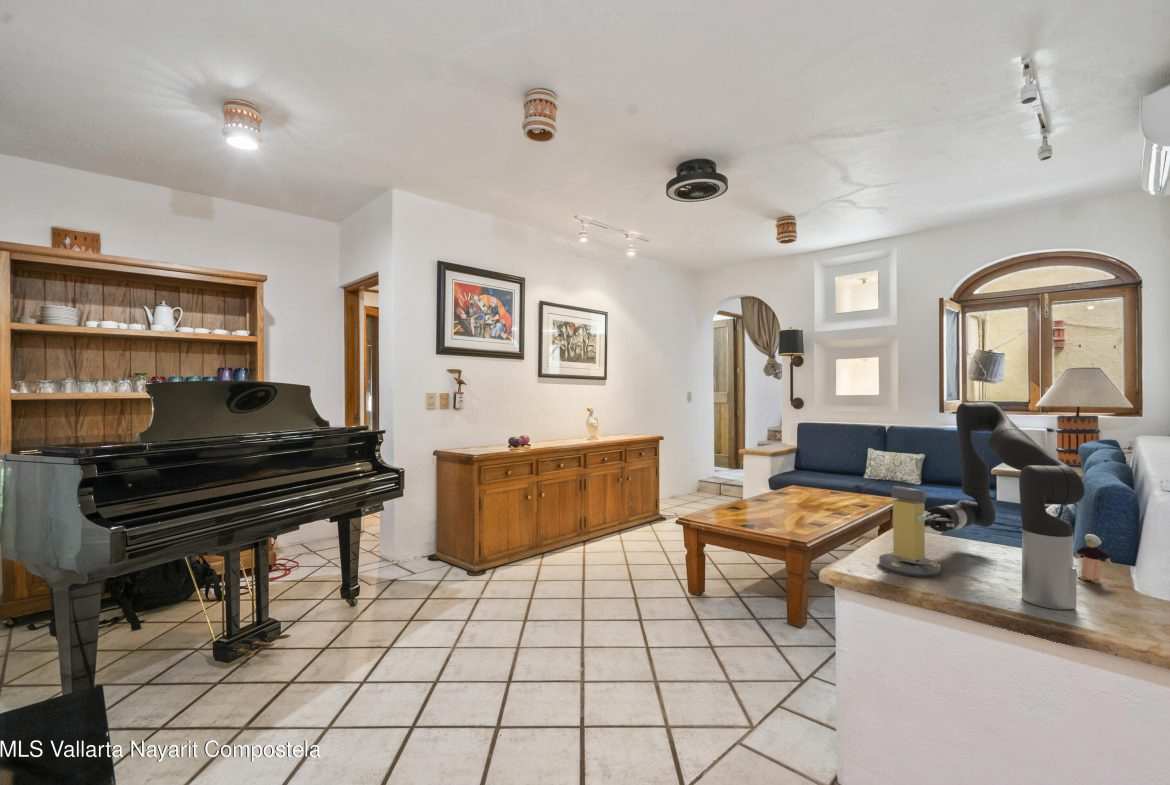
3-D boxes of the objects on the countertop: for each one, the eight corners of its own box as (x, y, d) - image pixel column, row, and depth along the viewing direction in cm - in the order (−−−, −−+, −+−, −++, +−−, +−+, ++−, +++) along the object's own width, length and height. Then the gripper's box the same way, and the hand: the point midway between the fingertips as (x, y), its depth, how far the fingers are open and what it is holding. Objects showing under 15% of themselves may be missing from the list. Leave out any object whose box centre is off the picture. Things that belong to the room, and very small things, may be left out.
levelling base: (898, 557, 163) (898, 549, 163) (951, 571, 150) (951, 563, 150) (868, 565, 156) (868, 557, 156) (921, 581, 143) (921, 572, 143)
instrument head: (900, 554, 158) (899, 485, 157) (928, 561, 150) (928, 489, 150) (890, 557, 155) (889, 486, 155) (918, 565, 148) (918, 491, 148)
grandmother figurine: (1071, 578, 145) (1071, 532, 144) (1075, 575, 147) (1075, 530, 147) (1110, 587, 138) (1111, 538, 138) (1113, 583, 141) (1114, 536, 141)
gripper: (924, 501, 168) (891, 505, 160) (971, 510, 156) (938, 515, 148) (923, 525, 168) (891, 530, 160) (970, 535, 156) (937, 542, 148)
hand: (913, 523), depth 154 cm, fingers closed
